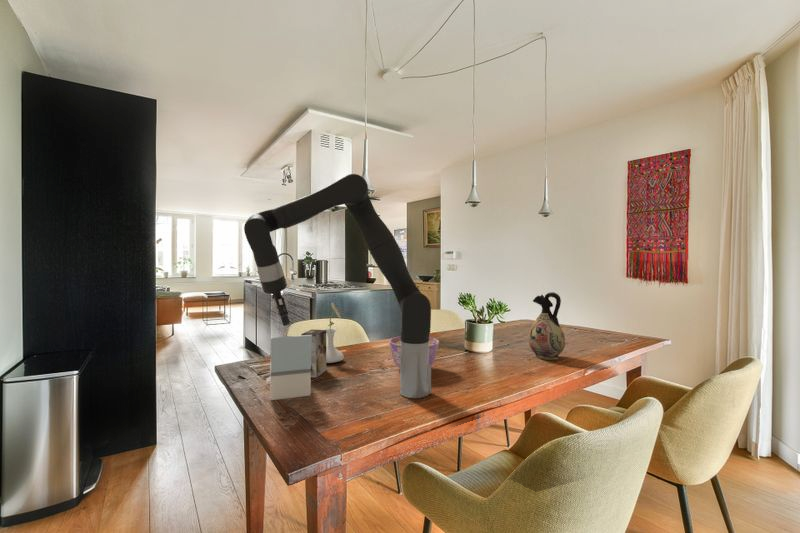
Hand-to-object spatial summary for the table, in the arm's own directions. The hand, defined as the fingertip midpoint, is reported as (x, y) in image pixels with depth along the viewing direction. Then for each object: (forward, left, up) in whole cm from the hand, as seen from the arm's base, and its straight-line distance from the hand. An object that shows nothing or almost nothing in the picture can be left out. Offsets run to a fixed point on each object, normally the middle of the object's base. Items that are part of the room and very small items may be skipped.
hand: (284, 319), depth 122 cm
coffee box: (-12, -12, -23) cm, 28 cm away
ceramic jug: (-114, 0, -23) cm, 116 cm away
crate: (-2, +5, -23) cm, 24 cm away
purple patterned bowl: (-50, -4, -23) cm, 55 cm away
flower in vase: (-21, -27, -23) cm, 41 cm away
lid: (-2, +12, -9) cm, 14 cm away
